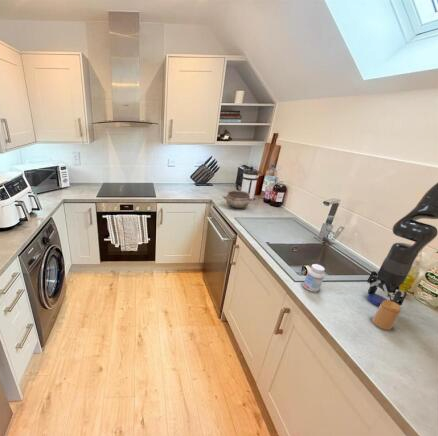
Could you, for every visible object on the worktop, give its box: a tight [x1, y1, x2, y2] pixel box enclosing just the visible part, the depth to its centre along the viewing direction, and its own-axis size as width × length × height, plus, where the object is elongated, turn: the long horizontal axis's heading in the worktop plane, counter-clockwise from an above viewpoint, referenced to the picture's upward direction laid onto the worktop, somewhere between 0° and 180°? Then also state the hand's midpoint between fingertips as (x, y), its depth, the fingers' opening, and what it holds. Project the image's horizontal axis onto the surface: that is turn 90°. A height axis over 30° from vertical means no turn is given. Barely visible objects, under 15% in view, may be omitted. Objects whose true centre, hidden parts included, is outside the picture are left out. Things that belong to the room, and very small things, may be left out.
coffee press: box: [235, 166, 260, 201], centre depth 213 cm, size 17×16×30 cm
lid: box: [367, 293, 387, 307], centre depth 97 cm, size 6×6×2 cm
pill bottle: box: [302, 263, 326, 293], centre depth 103 cm, size 6×6×11 cm
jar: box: [372, 300, 402, 331], centre depth 85 cm, size 5×5×9 cm
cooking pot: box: [222, 189, 255, 210], centre depth 196 cm, size 25×19×12 cm
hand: (378, 301), depth 97 cm, fingers open, 8 cm apart
